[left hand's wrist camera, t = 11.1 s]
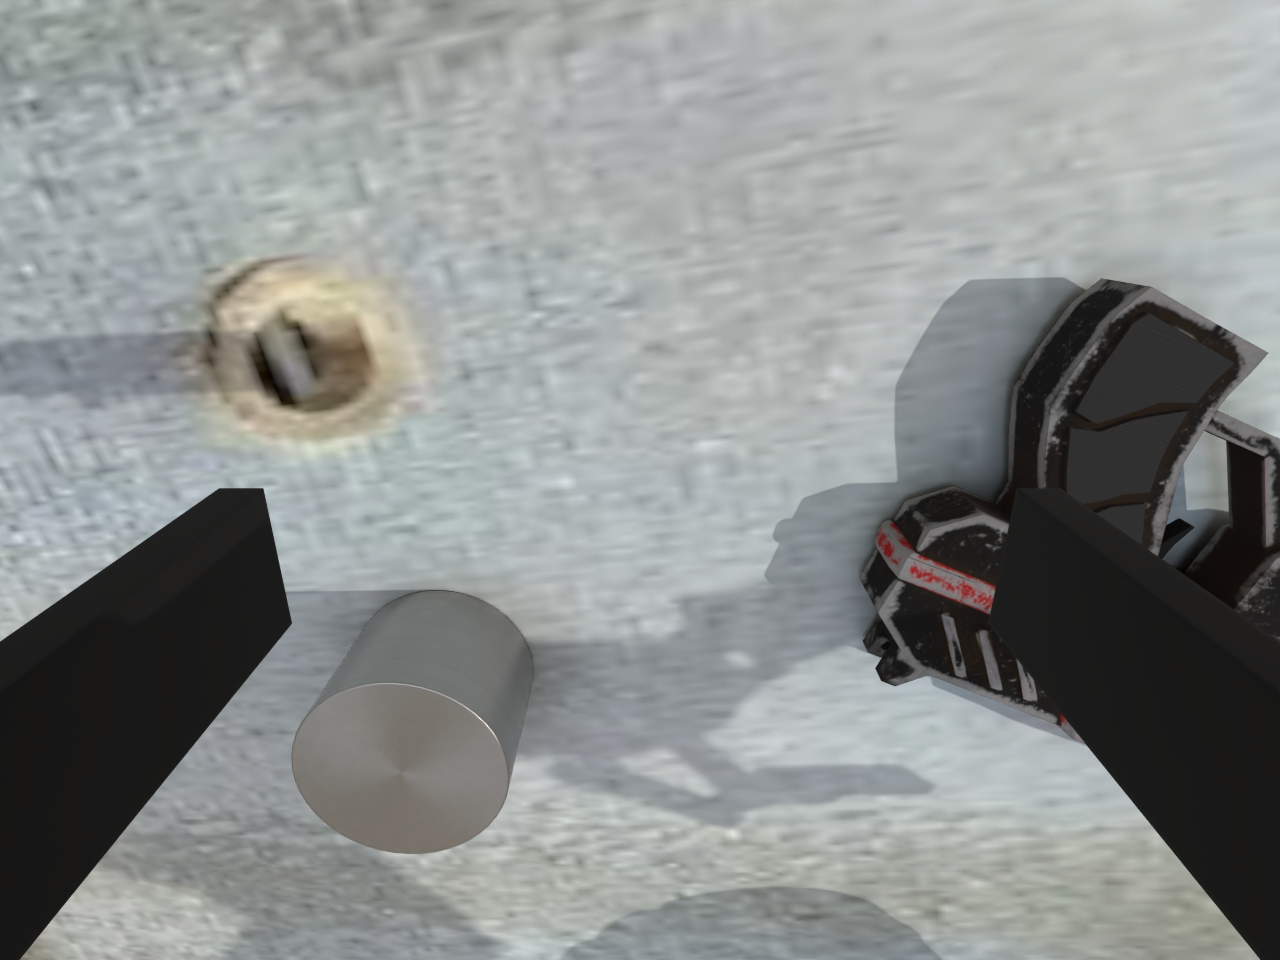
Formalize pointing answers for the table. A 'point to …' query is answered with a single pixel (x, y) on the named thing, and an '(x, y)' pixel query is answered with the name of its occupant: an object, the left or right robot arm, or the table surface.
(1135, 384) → the gun
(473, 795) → the canister
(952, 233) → the table surface
